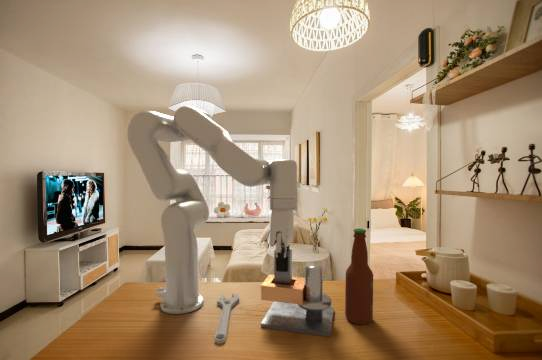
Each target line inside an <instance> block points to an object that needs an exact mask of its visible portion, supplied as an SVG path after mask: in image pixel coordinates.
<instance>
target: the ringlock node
mask: <svg viewBox="0 0 542 360" xmlns="http://www.w3.org/2000/svg"><path fill="white" fill-rule="evenodd" d="M323 269H324V266H323V265H321V264H318V263H307V264H304V277H301V276H292V286H291V285H281V284H274V274H268V276H266V278H265V280H264V281H263V282H262V283H261V285H260V300H261V301H268V302H272V303H271V305H270V307H269V309H268V310H267V312H266V313H265V316H264V318H263V319H262V321H261V322H260V328H265V329H271V328H272V329H271V330H279V331H285V332H293V333H301V334H306V335H313V336H320V337H327V338H331V337H332V335H331V334H332V330H333V329H332V327H333V319H334V310H335V309H334V308H335V307H334V306H332V301H333V299H332V298H331V296H330V295H328V294H326V293H323V291H324V290H323V289H324V288H323V287H324V286H323V285H324V270H323Z"/></svg>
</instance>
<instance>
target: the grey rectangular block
mask: <svg viewBox="0 0 542 360" xmlns="http://www.w3.org/2000/svg"><path fill="white" fill-rule="evenodd" d="M282 250H284V249H282ZM273 254H274V255H273V257H274V260H273V261H274V263H273V268H274V269H273V271H274V272H273V273H274V274H273V275H274V284H281V285H291V286H292V277H293V250H292V249H291V248H290V249H287V257H288V271H287V272H279V271H276V249H275V250H274V253H273Z"/></svg>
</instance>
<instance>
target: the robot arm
mask: <svg viewBox="0 0 542 360" xmlns="http://www.w3.org/2000/svg"><path fill="white" fill-rule="evenodd" d="M127 140H128V145H129V148H130V149H131V152H132V153H133V155H134V157H135V158H136V160H137V162H138V164H139V166H140V168H141V170H142V173H143V175H144V177H145V180H146V181H147V184H148V186H149V187H150V191H151V192H152V194H153V196H154V197H155V198H156V199H157V200H159V201H163V202H164V201H165V202H167V201H173V200H175V202H173V203H171V204H169V205H168V206H167V207H165V209H164V210H163V211H162V213H161V217H160V224H161V230H162V234H163V241H164V242H163V243H164V260H165V262H164V265H165V268H164V269H165V270H164V271H165V272H164V273H165V274H164V275H165V287H157V289H156V292H155V297H156V298H157V297H158V298H162V300H161V302H160V310H161V311H162V312H164V313H167V314H169V315H170V314H171V315H180V314H181V315H182V314H188V313H190V312H194V311H196V310H198V309H199V308H201V307H202V305H204V297H203V296H202V295H201V294H200V293H199V267H198V266H199V259H198V258H199V255H198V253H199V252H198V250H199V249H198V241H197V237H196V234H195V229H198V228H200V227H202V226H204V225H205V224H206V223H207V221H208V220H209V217H210V208H209V206H208V204H207V202H206V200H205V197H204V195H203V193H202V191H201V189H200V186H199V184H198V183H197V181H196V179H195V178H194V176H193V175H192V174H191V173H190V172H188V171H187V170H184V169H176V168H175V167H174V166H173V164H172V162H171V160H170V158H169V156H168V154H167V152H166V151H165V150H164V148H163V147H162V146H161V144H159V142H166V143H175V142H177V143H178V142H183V141H189V140H190V141H192V142H193V143H194V144H196V145H197V146H198V147H199V148H200V149H202V150H203V151H205V152H206V153H207V154H208V155H209V156H210V158H211V159H212V161H214V162H215V164H216V165H217V166H218V167H219V168H221V170H222V171H224V172H225V173H226V174H227V175H229V176H230V177H231V178H232V179H234V180H235V181H236V182H237V183H239V184H241V185H243V186H245V187H249V188H251V187H256V186H257V187H258V186H262V185H269V210H270V211H271V216H270V225H269V227H270V228H269V229H270V230H269V246H270V247H271V248H272V247H274V246H275V250H276V271H279V272H287V271H288V257H287V249H290V250H291V243H292V242H293V241H294V228H295V227H294V211H297V209H298V198H297V197H298V164H297V161H296V160H294V159H274V160H269V159H261V158H254V157H253V156H251V155H250V154H248V153H247V152H246V151H244V150H243V149H241V147H239V146H238V145H237V144H236V143H235V142H234V141H233V140H232V139H231V135H230V133H229V132H228V130H226V129H225V128H224V127H223V126H221V125H219V124H218V123H217V122H215V121H214V120H213V117H212V116H211V115H210V113H208V112H206V111H205V110H203V109H200V108H197V107H195V106H192V105H183V106H180V107H178V108H177V109H176V110H175V112H174V113H173V116H171V115H168V114H164V113H161V112H157V111H154V110H142V111H138V112H137V113H135V114H134V115H133V116H132V117H131V119H130V121H129V122H128V126H127ZM158 141H159V142H158ZM282 249H284V250H282Z"/></svg>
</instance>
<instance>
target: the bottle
mask: <svg viewBox="0 0 542 360" xmlns="http://www.w3.org/2000/svg"><path fill="white" fill-rule="evenodd" d="M353 232H354V233H353V238H354V240H353V241H352V242H353V243H352V247H351V257H350V259H351V260H350V261H351V262H350V264H349V265H348V267H347V269H346V271H345V296H344V297H345V300H344V301H345V303H344V304H345V305H344V306H345V307H344V312H345V317H346V319H347V320H348V321H349V322H351V323H352V324H355V325H358V326H361V325H362V326H363V325H368V324H370V323H371V322H372V321H373V319H374V318H373V317H374V316H373V315H374V311H373V310H374V273H373V271H372V269H371V268H370V266H369V263H368V262H369V257H368V256H369V255H368V246H367V242H366V238H367V235H366V234H367V230H366V229H364V228H355V229H354V230H353Z"/></svg>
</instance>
